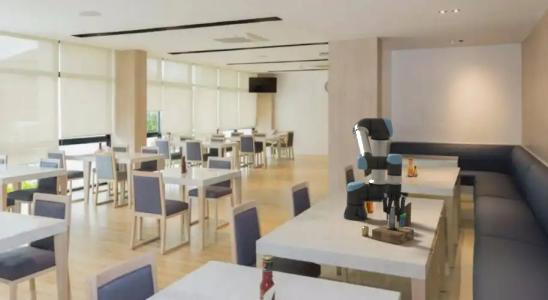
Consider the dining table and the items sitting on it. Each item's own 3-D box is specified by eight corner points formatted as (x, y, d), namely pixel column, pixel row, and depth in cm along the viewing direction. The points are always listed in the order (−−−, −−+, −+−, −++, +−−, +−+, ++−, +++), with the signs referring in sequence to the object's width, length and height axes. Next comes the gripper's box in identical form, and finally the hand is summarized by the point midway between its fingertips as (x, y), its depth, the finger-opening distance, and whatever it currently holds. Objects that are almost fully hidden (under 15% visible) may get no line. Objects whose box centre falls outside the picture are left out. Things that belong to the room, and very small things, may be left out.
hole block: (386, 233, 252) (387, 224, 251) (413, 238, 241) (413, 229, 241) (371, 238, 240) (372, 229, 240) (399, 244, 229) (399, 235, 229)
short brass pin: (364, 234, 249) (364, 225, 249) (369, 235, 246) (369, 226, 246) (360, 235, 246) (360, 226, 246) (366, 237, 244) (366, 227, 243)
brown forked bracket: (408, 226, 268) (409, 196, 267) (391, 223, 275) (392, 194, 274) (410, 225, 271) (411, 195, 269) (394, 222, 278) (395, 193, 276)
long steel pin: (391, 233, 243) (392, 206, 242) (397, 234, 240) (398, 206, 239) (388, 234, 240) (388, 207, 239) (394, 235, 238) (395, 207, 237)
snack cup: (403, 234, 248) (404, 216, 248) (384, 232, 253) (384, 215, 252) (407, 228, 263) (408, 211, 262) (389, 226, 267) (389, 209, 266)
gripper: (376, 182, 241) (375, 225, 243) (405, 185, 230) (404, 230, 232) (383, 180, 247) (382, 222, 248) (412, 184, 235) (410, 228, 237)
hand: (393, 226), depth 240 cm, fingers closed on long steel pin, 4 cm apart
